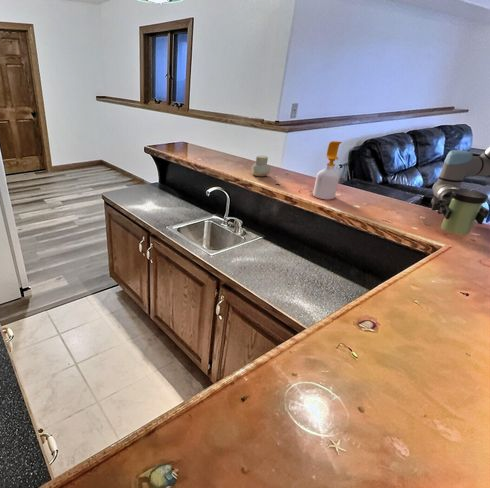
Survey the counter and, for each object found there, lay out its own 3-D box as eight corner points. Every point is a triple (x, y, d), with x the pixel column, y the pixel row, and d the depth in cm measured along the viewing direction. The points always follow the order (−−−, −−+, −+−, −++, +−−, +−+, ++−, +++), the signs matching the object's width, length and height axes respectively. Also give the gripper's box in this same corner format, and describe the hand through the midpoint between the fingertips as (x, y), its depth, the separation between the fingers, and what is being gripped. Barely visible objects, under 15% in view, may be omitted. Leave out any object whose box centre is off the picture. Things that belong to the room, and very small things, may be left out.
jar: (468, 229, 121) (484, 194, 115) (469, 236, 115) (485, 200, 109) (440, 223, 125) (454, 189, 119) (440, 230, 119) (454, 195, 113)
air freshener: (269, 178, 183) (272, 159, 178) (253, 177, 183) (256, 158, 179) (265, 172, 193) (267, 154, 188) (250, 172, 193) (252, 154, 188)
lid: (484, 198, 116) (487, 192, 115) (486, 205, 109) (489, 199, 108) (450, 192, 121) (452, 187, 120) (450, 199, 114) (452, 194, 113)
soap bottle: (314, 198, 154) (326, 142, 143) (311, 192, 162) (323, 138, 151) (335, 200, 153) (350, 143, 141) (332, 194, 160) (345, 139, 149)
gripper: (481, 212, 129) (501, 234, 111) (414, 202, 137) (423, 222, 119) (489, 192, 126) (511, 212, 107) (421, 184, 134) (430, 201, 116)
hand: (465, 217), depth 113 cm, fingers closed on jar, 8 cm apart
